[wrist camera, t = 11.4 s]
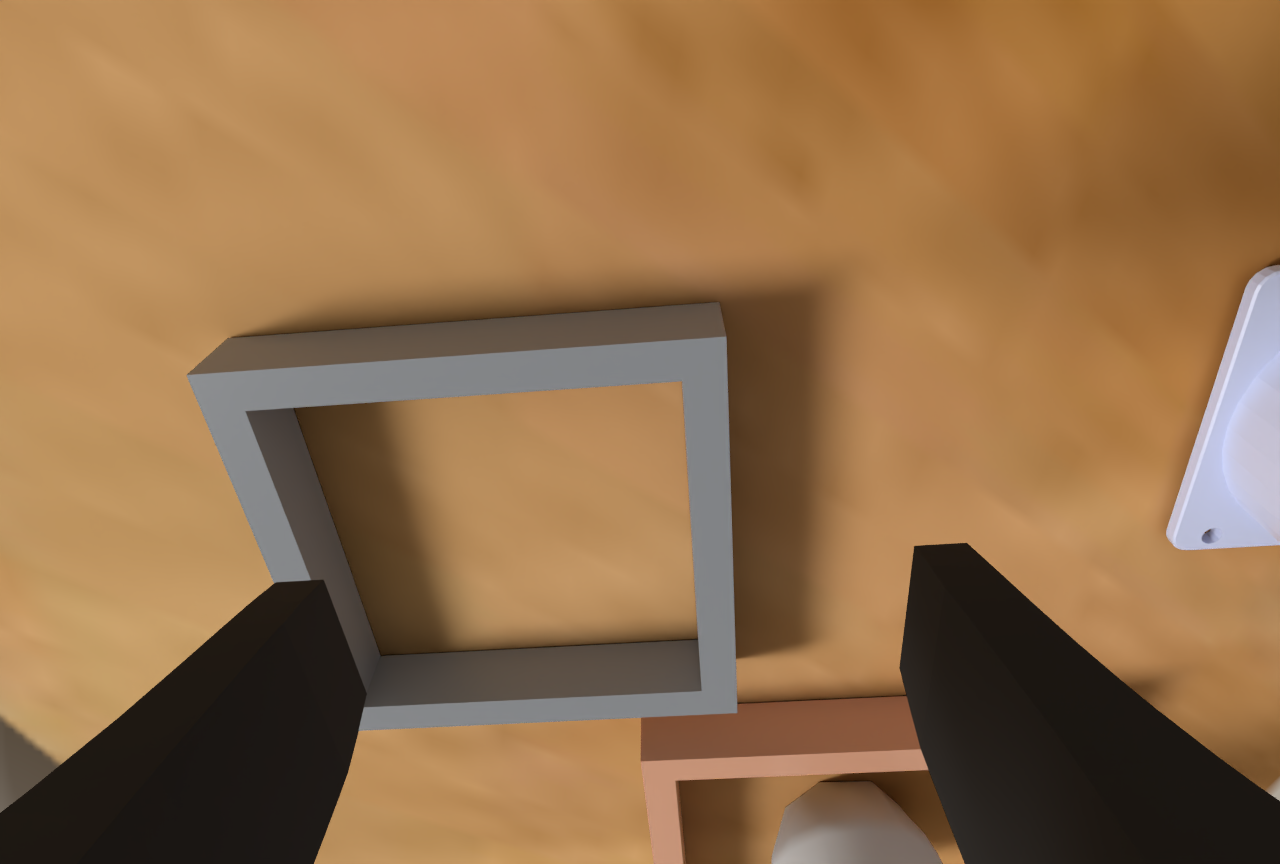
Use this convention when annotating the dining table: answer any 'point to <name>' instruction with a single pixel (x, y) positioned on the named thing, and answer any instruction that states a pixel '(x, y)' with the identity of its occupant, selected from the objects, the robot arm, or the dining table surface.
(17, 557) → the dining table surface
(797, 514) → the dining table surface
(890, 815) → the salt shaker
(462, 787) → the dining table surface
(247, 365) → the grey square frame
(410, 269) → the dining table surface
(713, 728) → the salmon pink square frame
